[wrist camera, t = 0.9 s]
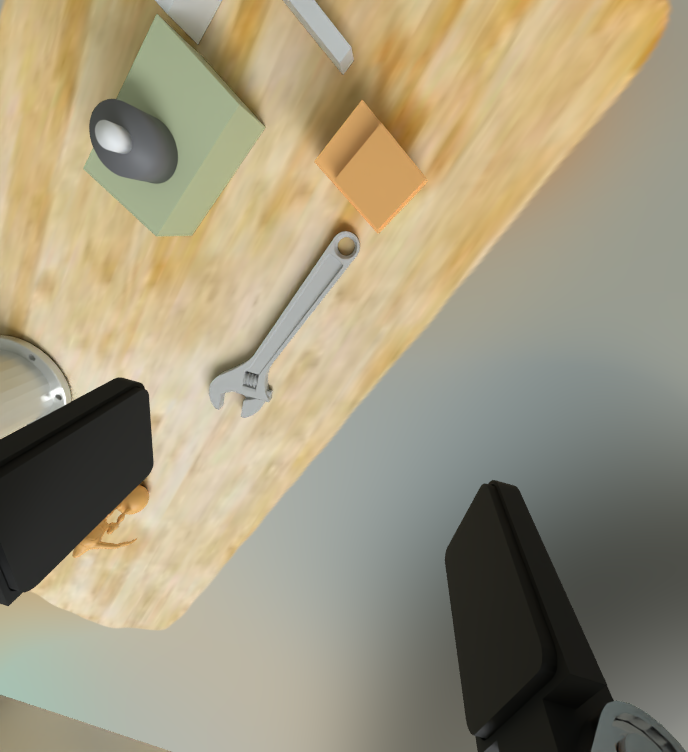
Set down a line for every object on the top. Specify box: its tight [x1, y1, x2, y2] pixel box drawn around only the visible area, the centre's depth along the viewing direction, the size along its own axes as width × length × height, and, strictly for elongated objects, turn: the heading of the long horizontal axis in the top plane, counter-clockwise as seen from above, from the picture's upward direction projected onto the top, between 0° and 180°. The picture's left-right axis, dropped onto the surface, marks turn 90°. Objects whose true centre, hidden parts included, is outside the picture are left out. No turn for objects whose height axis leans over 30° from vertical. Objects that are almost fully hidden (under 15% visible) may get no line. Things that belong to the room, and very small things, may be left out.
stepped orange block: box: [314, 100, 428, 233], centre depth 26 cm, size 5×7×6 cm
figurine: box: [73, 485, 149, 558], centre depth 42 cm, size 8×6×12 cm
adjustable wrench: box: [209, 231, 360, 418], centre depth 35 cm, size 25×6×2 cm, turn 137°
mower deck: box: [83, 0, 354, 236], centre depth 23 cm, size 20×11×10 cm, turn 135°
